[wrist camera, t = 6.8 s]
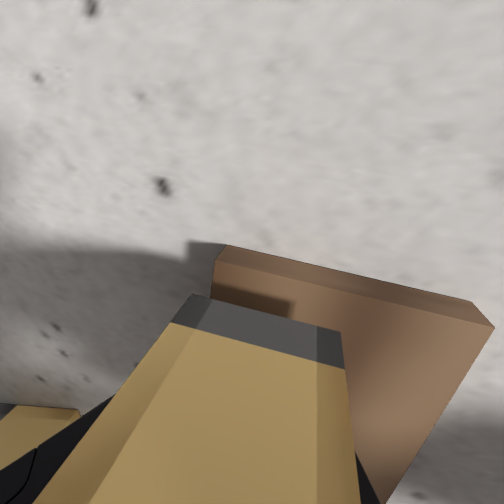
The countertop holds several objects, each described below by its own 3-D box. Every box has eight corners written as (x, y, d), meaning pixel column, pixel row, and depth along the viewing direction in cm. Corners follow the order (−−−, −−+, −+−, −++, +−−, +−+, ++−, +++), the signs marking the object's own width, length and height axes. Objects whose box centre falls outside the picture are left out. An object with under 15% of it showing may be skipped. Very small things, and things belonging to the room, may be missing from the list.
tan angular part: (-92, 481, 15) (2, 497, 13) (-2, 403, 19) (77, 409, 17) (-46, 536, 16) (42, 556, 15) (28, 453, 20) (102, 462, 19)
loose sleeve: (304, 434, 11) (290, 759, 5) (182, 397, 11) (52, 656, 6) (340, 331, 9) (380, 673, 3) (192, 293, 9) (11, 530, 4)
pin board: (471, 302, 10) (613, 459, 5) (337, 543, 17) (345, 710, 12) (226, 244, 11) (158, 332, 6) (191, 494, 18) (145, 629, 13)
